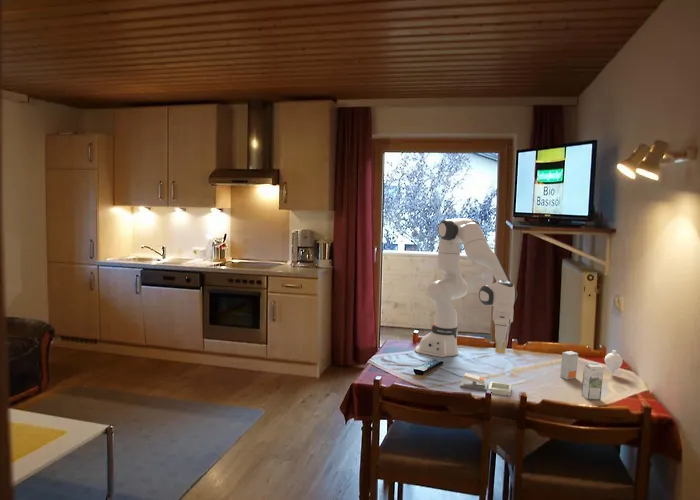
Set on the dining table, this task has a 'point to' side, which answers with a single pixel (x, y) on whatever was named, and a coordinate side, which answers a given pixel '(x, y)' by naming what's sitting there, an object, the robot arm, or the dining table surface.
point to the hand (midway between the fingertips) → (500, 346)
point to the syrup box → (592, 381)
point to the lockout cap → (502, 347)
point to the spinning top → (613, 361)
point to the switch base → (473, 385)
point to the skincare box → (569, 365)
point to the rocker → (474, 378)
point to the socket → (500, 388)
